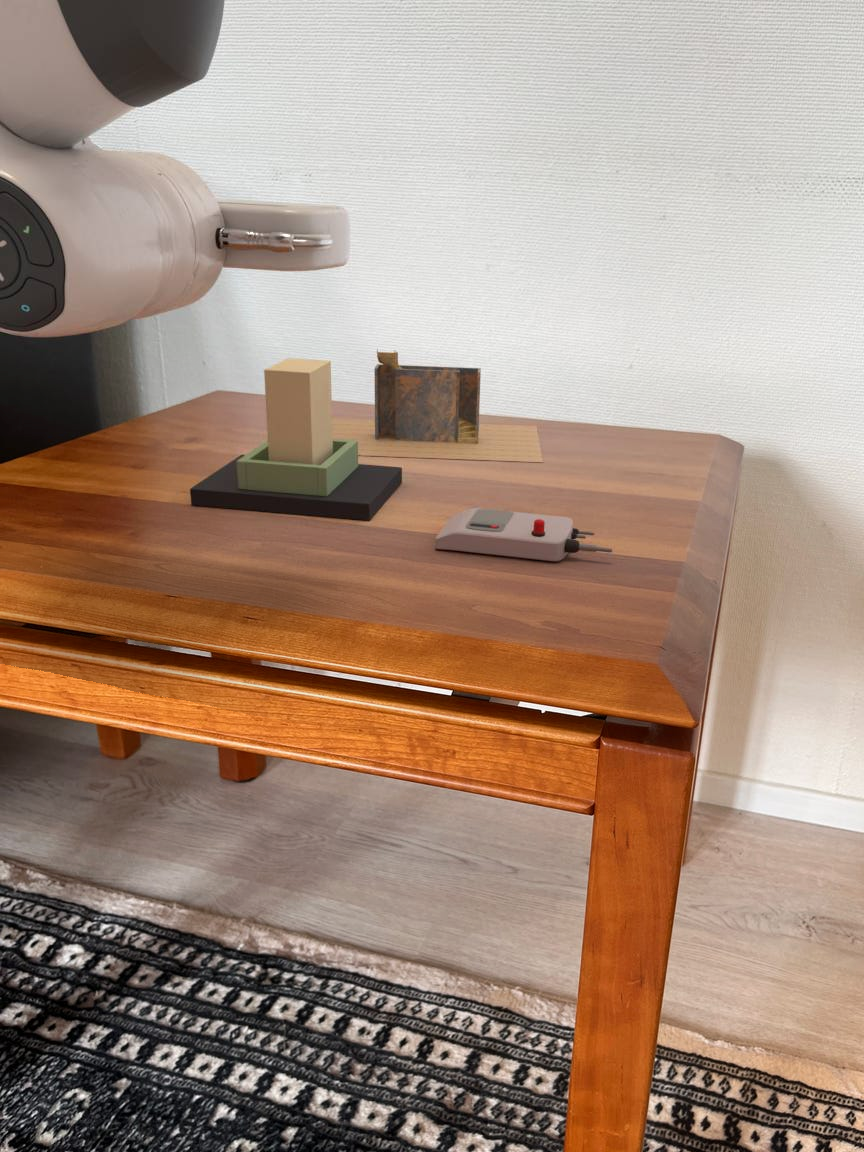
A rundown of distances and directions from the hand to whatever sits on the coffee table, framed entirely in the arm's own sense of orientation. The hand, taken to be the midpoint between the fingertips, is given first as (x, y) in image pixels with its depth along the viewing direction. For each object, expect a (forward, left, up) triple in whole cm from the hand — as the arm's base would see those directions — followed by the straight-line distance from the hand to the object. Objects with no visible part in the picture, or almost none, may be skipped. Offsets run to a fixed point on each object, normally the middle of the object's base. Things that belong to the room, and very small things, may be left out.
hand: (233, 223), depth 72 cm
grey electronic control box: (+21, -4, -24) cm, 32 cm away
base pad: (+4, +11, -23) cm, 26 cm away
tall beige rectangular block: (+4, +11, -22) cm, 25 cm away
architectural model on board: (+18, +31, -24) cm, 43 cm away
